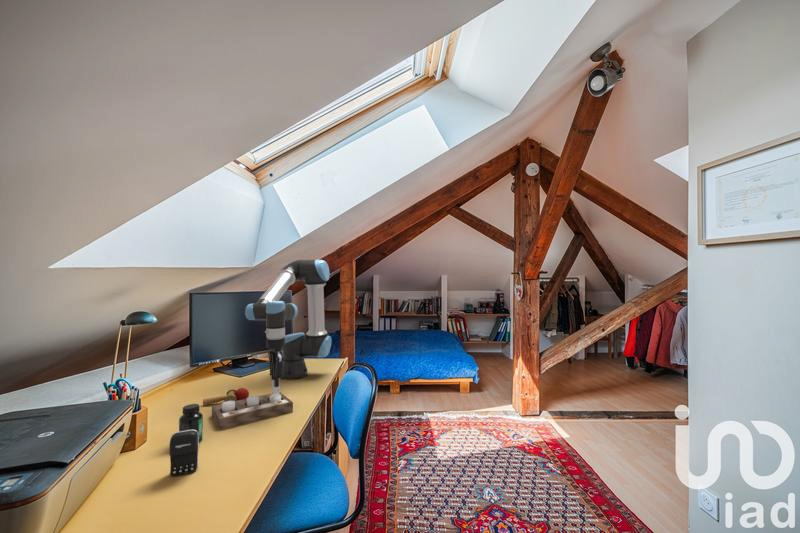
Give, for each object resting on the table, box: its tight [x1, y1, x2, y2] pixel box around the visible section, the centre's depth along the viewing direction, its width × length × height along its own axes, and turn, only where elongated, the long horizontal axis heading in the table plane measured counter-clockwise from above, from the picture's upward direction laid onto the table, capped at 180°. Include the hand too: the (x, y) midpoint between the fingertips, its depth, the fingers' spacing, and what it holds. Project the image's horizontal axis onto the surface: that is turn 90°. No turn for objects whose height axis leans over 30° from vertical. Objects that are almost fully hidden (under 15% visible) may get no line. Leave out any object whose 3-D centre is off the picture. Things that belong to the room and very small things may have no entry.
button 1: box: [221, 401, 235, 413], centre depth 135 cm, size 5×5×4 cm
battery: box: [168, 429, 199, 477], centre depth 98 cm, size 7×4×11 cm, turn 114°
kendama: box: [202, 387, 250, 407], centre depth 152 cm, size 8×6×18 cm
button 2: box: [270, 394, 281, 402], centre depth 146 cm, size 5×5×4 cm
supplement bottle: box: [178, 403, 204, 443], centre depth 117 cm, size 7×7×12 cm
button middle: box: [247, 395, 260, 408], centre depth 140 cm, size 5×5×4 cm
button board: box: [211, 391, 294, 431], centre depth 140 cm, size 27×16×4 cm, turn 128°
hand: (275, 393), depth 146 cm, fingers closed
